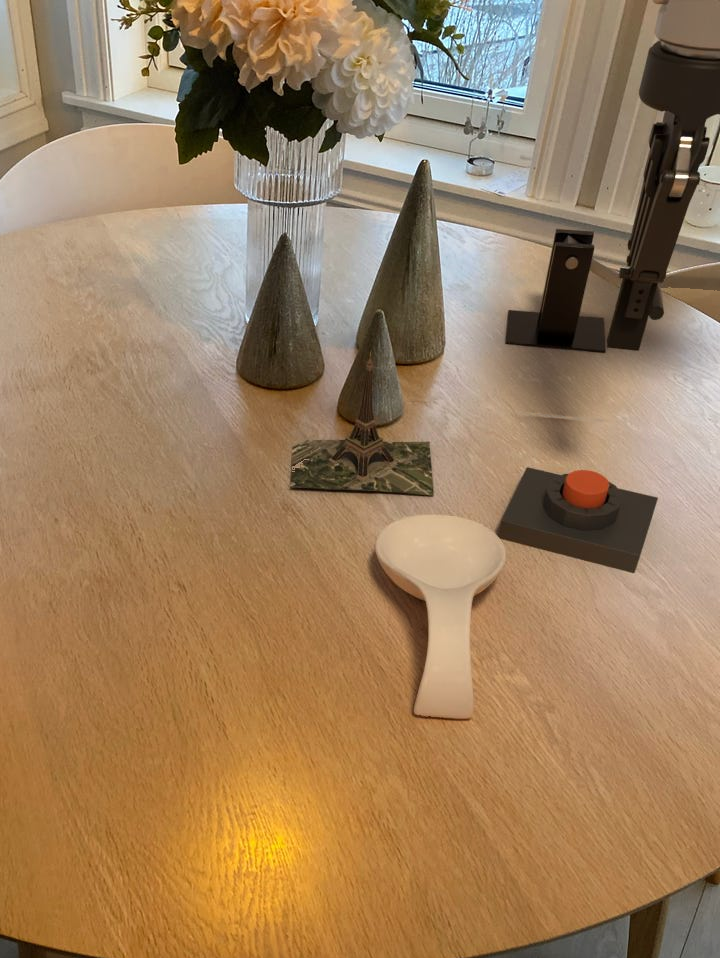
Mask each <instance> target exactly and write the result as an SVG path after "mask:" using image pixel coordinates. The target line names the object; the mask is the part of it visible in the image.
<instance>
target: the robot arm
mask: <svg viewBox="0 0 720 958" xmlns="http://www.w3.org/2000/svg"><path fill="white" fill-rule="evenodd" d="M652 2H653V4H655V5H661V6H660V7H659V10H658V12H657V13H658V14H657V18H656V22H655V26H654V30H653V33H654V35H655V37H656V38H657V39H658V41H656V42H655V43H653V44H652V46H650V47H649V48H648V51H647V56H646V60H645V65H644V67H643V68H644V69H643V71H642V72H643V73H642V78H641V80H640V86H639V89H638V97H639V100H640V102H641V103H643V104H644V105H645V106H647V107H648V108H650V109H653V110H656V111H657V112H658V111H659V112H663V117H662V122H660V121H656V123H653V124H652V126H651V131H650V134H649V138H648V147H649V151H648V153H647V154H648V155H647V158H646V162H645V166H644V171H643V181H642V185H641V189H640V193H639V198H638V203H637V207H636V211H635V216H634V220H633V223H632V224H633V225H632V229H631V233H630V237H629V239H628V240H627V245H626V246H627V251H629V253H628V255H627V256H626V260H625V262H626V267H620V268H619V272H618V274H619V278H621V279H623V280H622V283H621V287H620V288H619V292H618V294H617V299H616V303H615V307H614V311H613V314H612V319H611V322H610V325H609V330H608V334H607V337H606V349H613V350H614V349H615V350H625V351H636V352H639V351H640V347H641V345H642V341H643V337H644V334H645V330H646V328H647V327H646V326H647V323H648V319H649V318H650V317H649V313H650V310H651V306H652V303H653V299H654V296H655V292H656V289H657V286H658V285H659V284H663V283H664V281H665V279H666V277H667V271H668V267H669V265H670V262H671V259H672V256H673V253H674V250H675V247H676V244H677V242H678V238H679V235H680V232H681V229H682V226H683V224H684V221H685V217H686V216H687V215H686V214H687V212H688V209H689V206H690V203H691V200H692V199H693V197H694V194H695V192H696V189H697V187H698V186H699V185H700V183H701V173H700V172H699V168H700V166H701V165H702V164H703V163H704V162H705V160H706V156H707V153H708V150H709V146H710V141H711V140H710V136H709V137H708V136H706V135H707V129H708V127H707V126H706V122H707V120H708V119H710V118H711V117H713V116H716V115H720V0H652Z"/></svg>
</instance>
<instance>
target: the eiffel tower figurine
mask: <svg viewBox="0 0 720 958" xmlns="http://www.w3.org/2000/svg"><path fill="white" fill-rule="evenodd" d="M371 357H372V350H370V352H369V359H368V361H366V362H365V367H366V371H365V378H364V383H363V384H364V385H363V391H362V397H361V403H360V408H359V411H358V416H357V418H355V424H354V426H353V428H352V431H351V433H350V435H348V436H346V437H345V439H295V440H293V442H292V447H291V464H290V467H291V466H295V465H296V464H298V463H299V462H301V461H303V460H304V459H309V460H304V461H303V462H302V463H303V464H300V468H295V470H292V471H295V472H291V471H290V486H289V487H290V488H298V489H299V488H302V489H303V488H304V489H305V488H306V489H316V490H332V491H333V490H334V491H335V490H339V491H340V490H342V491H344V490H345V491H366V492H367V491H368V492H384V493H398V494H399V493H401V494H411V495H419V496H420V495H421V496H434V495H435V492H434V480H433V465H432V455H431V444H430V441H384V438H383V437H381V436H380V435H379V433H378V430H377V426H376V418H375V417H374V407H373V367H374V361H373V360H372V359H371ZM293 469H294V468H293Z"/></svg>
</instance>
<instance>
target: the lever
mask: <svg viewBox="0 0 720 958" xmlns="http://www.w3.org/2000/svg"><path fill="white" fill-rule="evenodd" d="M563 243H576V244H582V243H581V242H579V241H577V240H576V239H574V238H572V237H570V236H569V235H568V236H567V238H566V239H565V240H564V242H563ZM589 272H591V273H593V274H594V275H596V276H597V277H599V278H601V279H602V280H605V281H606V282H608V283H610V284H611V285H613V286H615V287H616V288H618V289H620V287H621V283H622V280H623V279H621V278H619V273H617V272H616V271H614V270H612V269H611V268H609V267H607V266H606V265H604V264H603V263H600V262H599V261H597V260H595V259H594V258H592V261H591V266H590V270H589ZM664 315H665V308H664V303H663V295H662V289H661V288H660V286H658V285H657V289H656V292H655V296H654V299H653V303H652V306H651V310H650V313H649V317H648V318H649V319H651V320H653V321H659V320H661V319H662V318H663V316H664Z"/></svg>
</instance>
